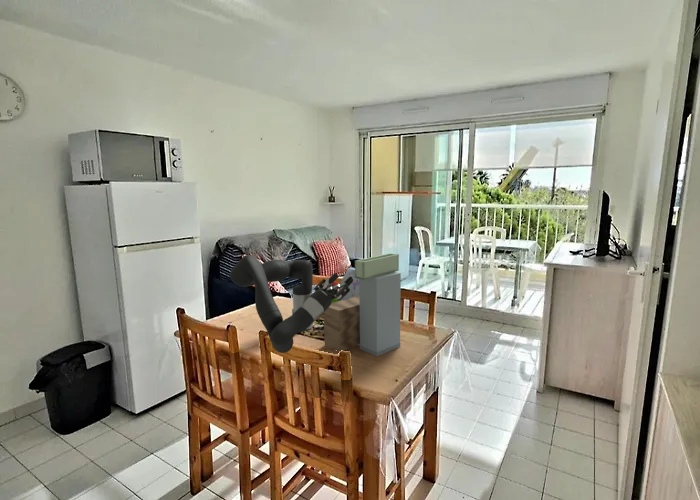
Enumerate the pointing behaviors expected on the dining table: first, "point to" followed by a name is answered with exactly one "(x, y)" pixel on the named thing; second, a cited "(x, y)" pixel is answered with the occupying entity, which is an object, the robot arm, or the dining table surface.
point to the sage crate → (376, 266)
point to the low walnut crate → (342, 324)
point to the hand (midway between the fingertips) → (344, 276)
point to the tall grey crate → (380, 313)
